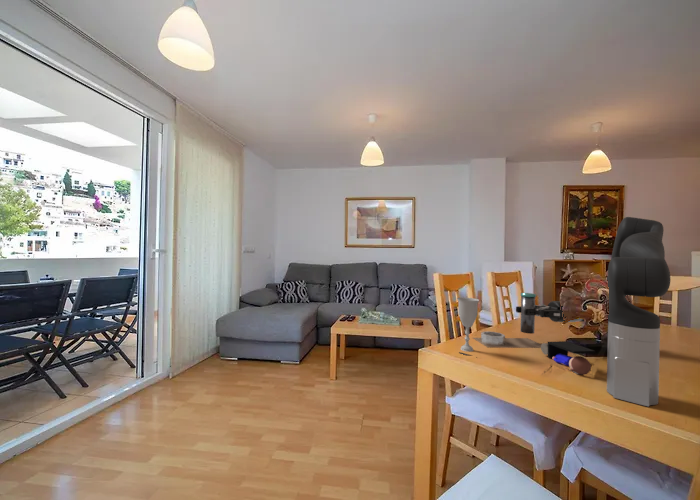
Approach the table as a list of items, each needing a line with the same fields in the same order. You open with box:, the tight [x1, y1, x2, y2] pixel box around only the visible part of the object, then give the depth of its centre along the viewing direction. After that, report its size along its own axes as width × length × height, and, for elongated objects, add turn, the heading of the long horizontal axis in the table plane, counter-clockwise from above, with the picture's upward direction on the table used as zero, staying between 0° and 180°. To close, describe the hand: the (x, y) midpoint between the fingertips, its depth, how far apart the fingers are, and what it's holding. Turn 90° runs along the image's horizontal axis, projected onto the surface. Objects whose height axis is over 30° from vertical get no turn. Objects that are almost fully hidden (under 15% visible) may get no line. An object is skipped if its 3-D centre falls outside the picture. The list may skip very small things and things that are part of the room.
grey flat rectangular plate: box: [472, 337, 543, 349], centre depth 115 cm, size 22×12×1 cm, turn 93°
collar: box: [480, 331, 506, 346], centre depth 114 cm, size 8×8×3 cm
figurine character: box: [540, 340, 596, 376], centre depth 94 cm, size 7×8×15 cm
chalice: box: [456, 297, 480, 357], centre depth 105 cm, size 7×7×18 cm
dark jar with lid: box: [520, 292, 537, 335], centre depth 115 cm, size 5×5×14 cm
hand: (520, 310), depth 115 cm, fingers closed on dark jar with lid, 4 cm apart
